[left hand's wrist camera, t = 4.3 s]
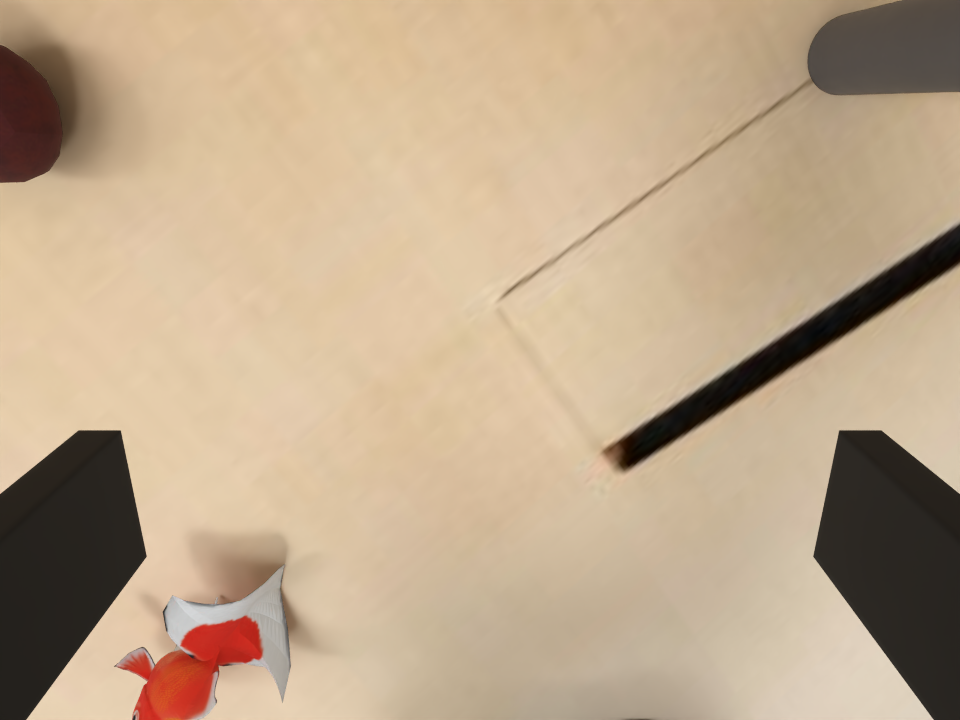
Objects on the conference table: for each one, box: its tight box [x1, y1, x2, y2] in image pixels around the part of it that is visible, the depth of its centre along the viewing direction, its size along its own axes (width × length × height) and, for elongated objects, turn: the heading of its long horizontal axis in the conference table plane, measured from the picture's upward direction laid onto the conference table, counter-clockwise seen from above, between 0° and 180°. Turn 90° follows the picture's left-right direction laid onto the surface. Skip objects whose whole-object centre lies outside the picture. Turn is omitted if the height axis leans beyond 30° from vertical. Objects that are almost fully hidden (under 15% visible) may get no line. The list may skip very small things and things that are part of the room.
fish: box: [114, 564, 291, 720], centre depth 49 cm, size 11×16×10 cm
